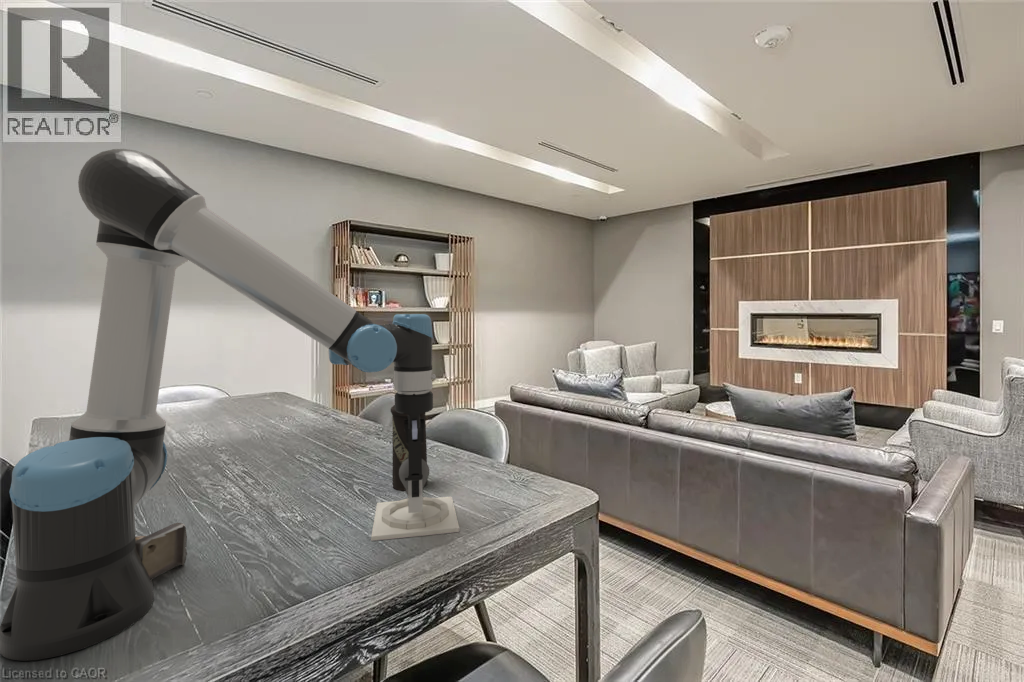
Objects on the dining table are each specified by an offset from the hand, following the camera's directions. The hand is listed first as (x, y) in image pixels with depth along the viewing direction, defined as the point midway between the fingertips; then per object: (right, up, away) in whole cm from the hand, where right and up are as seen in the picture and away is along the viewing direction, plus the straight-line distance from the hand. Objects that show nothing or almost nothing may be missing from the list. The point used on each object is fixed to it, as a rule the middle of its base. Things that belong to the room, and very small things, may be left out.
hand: (415, 504), depth 94 cm
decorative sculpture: (-40, -4, -16) cm, 43 cm away
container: (-5, -2, +19) cm, 20 cm away
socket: (0, -3, 0) cm, 3 cm away
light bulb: (0, 0, 0) cm, 1 cm away
